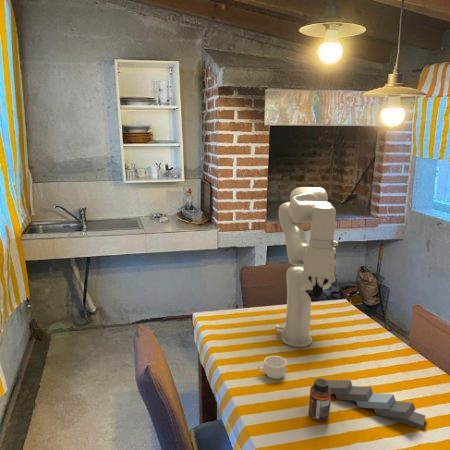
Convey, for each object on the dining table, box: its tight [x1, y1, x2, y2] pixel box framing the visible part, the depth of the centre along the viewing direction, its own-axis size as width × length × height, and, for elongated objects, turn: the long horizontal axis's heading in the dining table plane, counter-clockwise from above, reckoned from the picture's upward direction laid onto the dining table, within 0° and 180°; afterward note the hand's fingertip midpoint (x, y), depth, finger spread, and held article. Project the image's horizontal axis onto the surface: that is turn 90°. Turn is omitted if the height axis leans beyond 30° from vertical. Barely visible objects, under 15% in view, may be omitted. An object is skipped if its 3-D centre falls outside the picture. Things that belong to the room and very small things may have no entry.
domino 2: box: [335, 385, 374, 401], centre depth 127 cm, size 2×5×10 cm
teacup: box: [257, 355, 288, 380], centre depth 140 cm, size 10×8×5 cm
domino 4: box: [373, 400, 416, 419], centre depth 119 cm, size 2×5×10 cm
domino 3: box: [355, 392, 397, 409], centre depth 123 cm, size 2×5×10 cm
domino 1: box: [325, 379, 353, 395], centre depth 130 cm, size 2×5×10 cm
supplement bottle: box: [308, 377, 332, 423], centre depth 119 cm, size 6×6×11 cm
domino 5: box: [385, 411, 426, 431], centre depth 120 cm, size 2×5×10 cm
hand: (317, 296), depth 135 cm, fingers closed
